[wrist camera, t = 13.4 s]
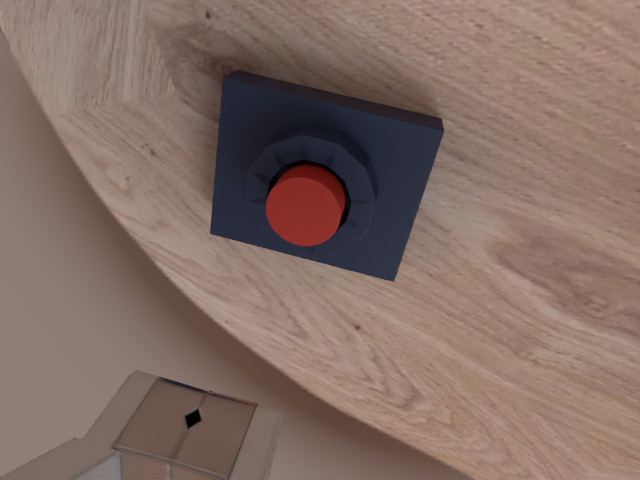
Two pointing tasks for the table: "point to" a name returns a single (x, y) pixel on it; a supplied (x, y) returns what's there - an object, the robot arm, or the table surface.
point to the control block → (329, 153)
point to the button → (306, 205)
